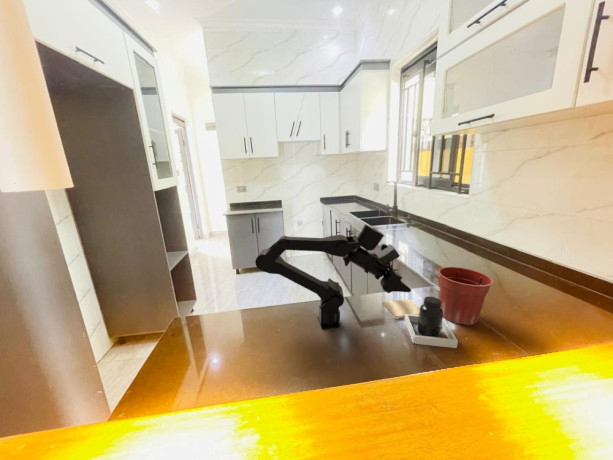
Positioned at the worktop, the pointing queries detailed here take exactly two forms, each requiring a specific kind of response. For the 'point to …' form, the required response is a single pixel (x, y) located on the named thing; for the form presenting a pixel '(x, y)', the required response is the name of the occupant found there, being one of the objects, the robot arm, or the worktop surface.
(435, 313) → the supplement bottle
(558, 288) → the worktop surface
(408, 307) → the birch board
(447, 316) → the flower pot
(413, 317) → the frame
